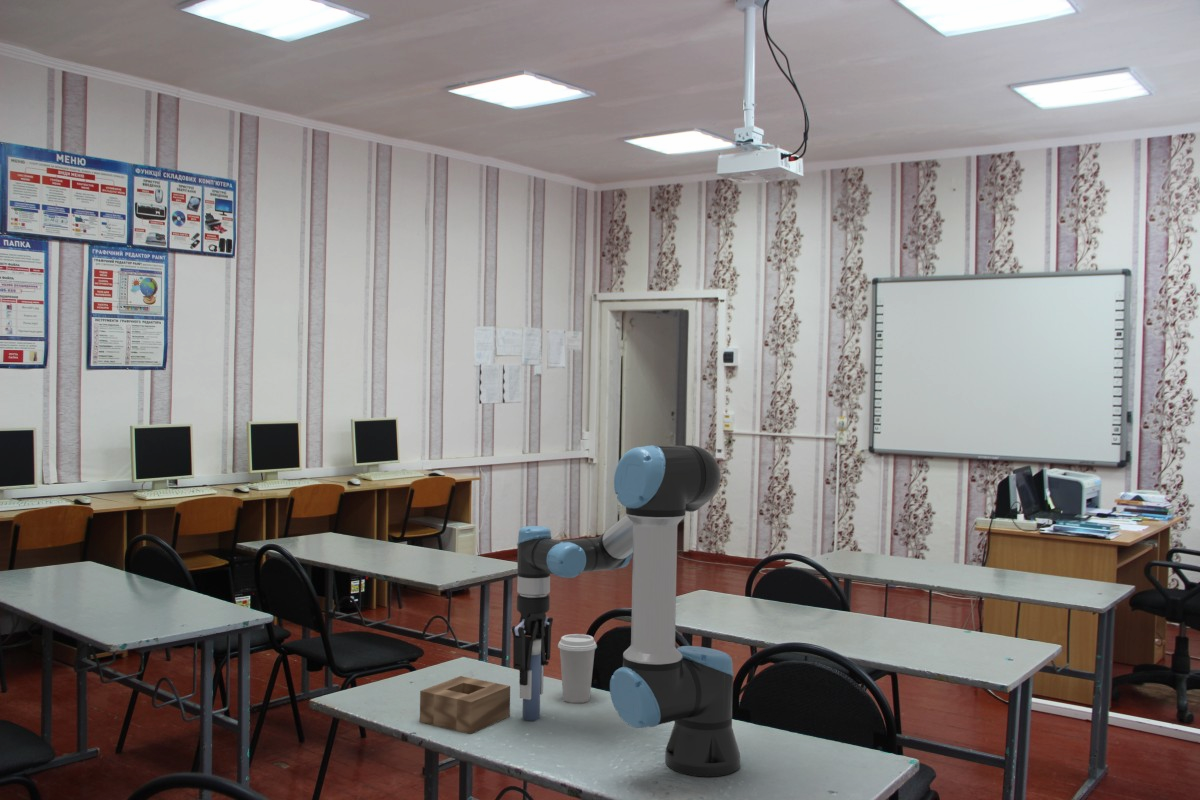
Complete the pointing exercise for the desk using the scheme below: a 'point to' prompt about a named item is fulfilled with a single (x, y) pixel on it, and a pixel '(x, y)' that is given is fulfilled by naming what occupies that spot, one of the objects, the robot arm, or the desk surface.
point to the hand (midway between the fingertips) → (531, 695)
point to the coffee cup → (576, 666)
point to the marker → (534, 685)
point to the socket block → (465, 704)
